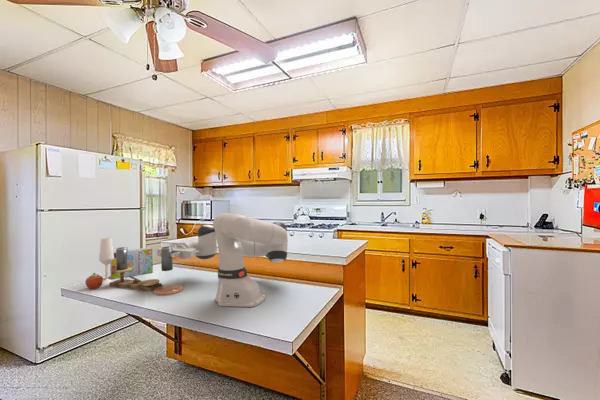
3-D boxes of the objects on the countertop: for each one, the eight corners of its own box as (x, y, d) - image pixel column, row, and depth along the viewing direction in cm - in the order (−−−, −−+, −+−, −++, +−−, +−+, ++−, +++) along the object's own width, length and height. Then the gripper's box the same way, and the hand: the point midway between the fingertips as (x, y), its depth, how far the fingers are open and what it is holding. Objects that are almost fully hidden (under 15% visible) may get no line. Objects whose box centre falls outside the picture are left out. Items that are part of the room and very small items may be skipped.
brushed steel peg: (175, 268, 142) (174, 246, 142) (167, 271, 137) (167, 248, 137) (166, 268, 144) (166, 246, 144) (158, 270, 139) (158, 248, 139)
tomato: (93, 291, 140) (93, 274, 140) (81, 290, 142) (81, 274, 142) (106, 286, 148) (106, 271, 148) (94, 285, 149) (94, 270, 149)
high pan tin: (130, 268, 151) (129, 247, 151) (121, 270, 146) (121, 249, 146) (122, 267, 153) (122, 247, 153) (113, 269, 148) (113, 248, 148)
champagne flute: (104, 285, 150) (104, 239, 150) (96, 283, 152) (95, 238, 152) (117, 281, 156) (116, 237, 156) (108, 280, 159) (108, 237, 158)
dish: (188, 288, 145) (188, 285, 145) (170, 296, 133) (170, 293, 133) (167, 285, 149) (167, 283, 149) (147, 293, 137) (147, 291, 137)
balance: (163, 286, 147) (163, 270, 147) (149, 292, 139) (149, 274, 139) (123, 281, 155) (123, 266, 155) (107, 286, 147) (107, 270, 147)
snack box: (150, 271, 178) (150, 247, 178) (152, 272, 174) (152, 248, 174) (110, 277, 165) (110, 251, 165) (111, 279, 161) (111, 252, 160)
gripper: (201, 257, 150) (183, 263, 137) (169, 254, 156) (149, 260, 142) (201, 245, 150) (183, 250, 137) (168, 243, 156) (148, 247, 142)
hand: (165, 255), depth 140 cm, fingers closed on brushed steel peg, 5 cm apart
